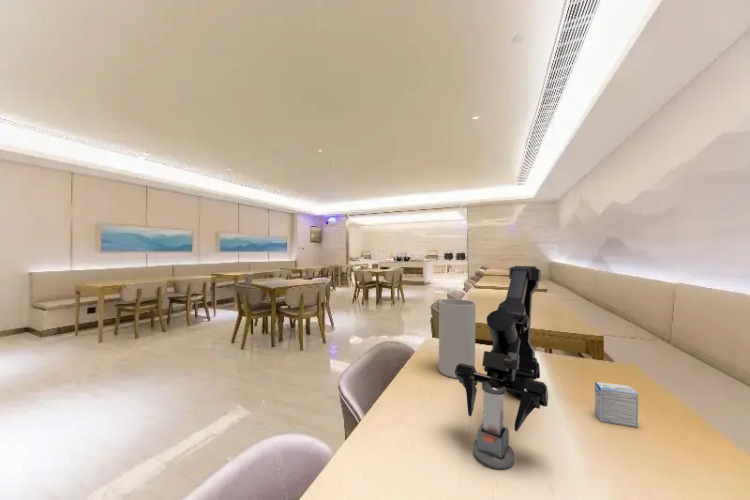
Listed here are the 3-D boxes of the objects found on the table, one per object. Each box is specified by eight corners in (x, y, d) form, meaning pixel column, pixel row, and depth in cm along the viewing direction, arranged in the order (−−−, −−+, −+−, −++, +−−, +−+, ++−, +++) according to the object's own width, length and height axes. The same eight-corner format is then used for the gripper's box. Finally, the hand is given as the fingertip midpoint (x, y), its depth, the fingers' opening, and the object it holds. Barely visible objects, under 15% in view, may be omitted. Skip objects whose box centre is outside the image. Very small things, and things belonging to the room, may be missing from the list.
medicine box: (630, 419, 78) (630, 385, 78) (638, 428, 74) (639, 393, 74) (594, 413, 80) (594, 381, 81) (600, 422, 76) (600, 388, 76)
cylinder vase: (469, 382, 98) (470, 306, 99) (433, 374, 105) (434, 302, 105) (478, 370, 109) (479, 301, 109) (445, 363, 116) (445, 298, 116)
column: (485, 438, 66) (485, 379, 66) (507, 446, 64) (507, 384, 64) (478, 449, 63) (479, 386, 63) (502, 458, 60) (502, 392, 60)
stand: (479, 439, 69) (479, 414, 69) (517, 453, 64) (517, 426, 64) (467, 458, 62) (468, 431, 62) (509, 476, 57) (509, 446, 58)
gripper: (457, 329, 72) (438, 392, 63) (547, 343, 61) (539, 423, 52) (468, 353, 78) (452, 414, 69) (550, 370, 67) (544, 445, 58)
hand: (491, 422), depth 62 cm, fingers open, 9 cm apart
